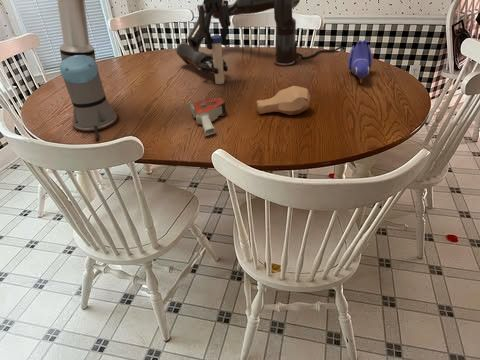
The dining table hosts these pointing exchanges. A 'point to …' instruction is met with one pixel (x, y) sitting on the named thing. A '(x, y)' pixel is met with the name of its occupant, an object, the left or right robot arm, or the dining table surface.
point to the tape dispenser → (207, 113)
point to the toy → (360, 59)
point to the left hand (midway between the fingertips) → (216, 46)
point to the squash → (286, 101)
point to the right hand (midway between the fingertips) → (222, 70)
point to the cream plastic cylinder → (218, 62)
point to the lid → (216, 39)
